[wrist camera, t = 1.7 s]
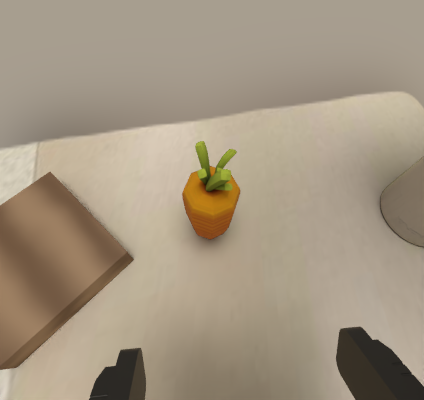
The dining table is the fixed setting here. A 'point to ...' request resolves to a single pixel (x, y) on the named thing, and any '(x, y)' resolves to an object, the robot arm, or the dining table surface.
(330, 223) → the dining table surface
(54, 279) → the walnut plinth
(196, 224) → the carrot
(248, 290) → the dining table surface
